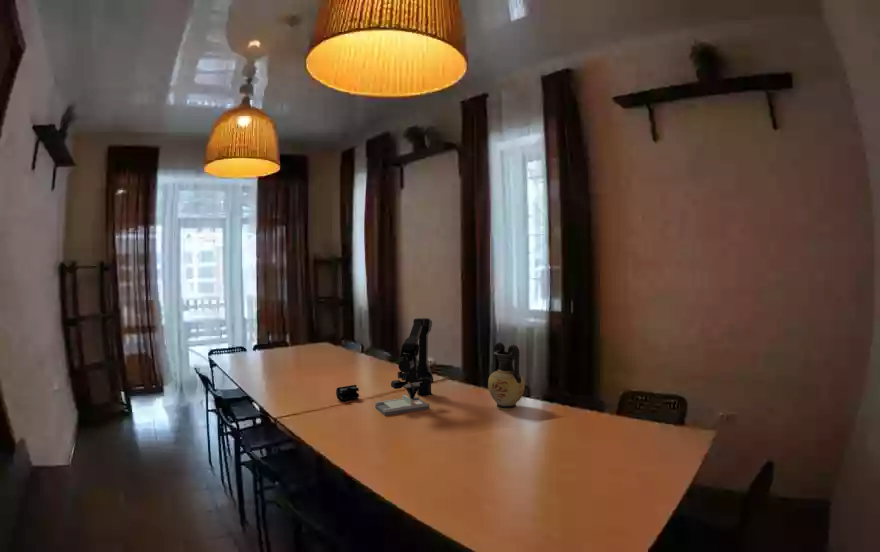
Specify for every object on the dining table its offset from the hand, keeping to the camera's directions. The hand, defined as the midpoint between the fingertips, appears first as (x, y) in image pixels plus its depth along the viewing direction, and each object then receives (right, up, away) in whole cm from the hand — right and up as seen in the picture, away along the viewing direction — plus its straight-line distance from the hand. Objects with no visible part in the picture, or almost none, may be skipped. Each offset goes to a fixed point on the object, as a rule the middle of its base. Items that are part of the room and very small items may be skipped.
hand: (411, 400), depth 242 cm
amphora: (+45, -3, -4) cm, 45 cm away
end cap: (-33, -4, +16) cm, 37 cm away
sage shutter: (-6, -2, -3) cm, 7 cm away
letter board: (-4, -3, -2) cm, 6 cm away
